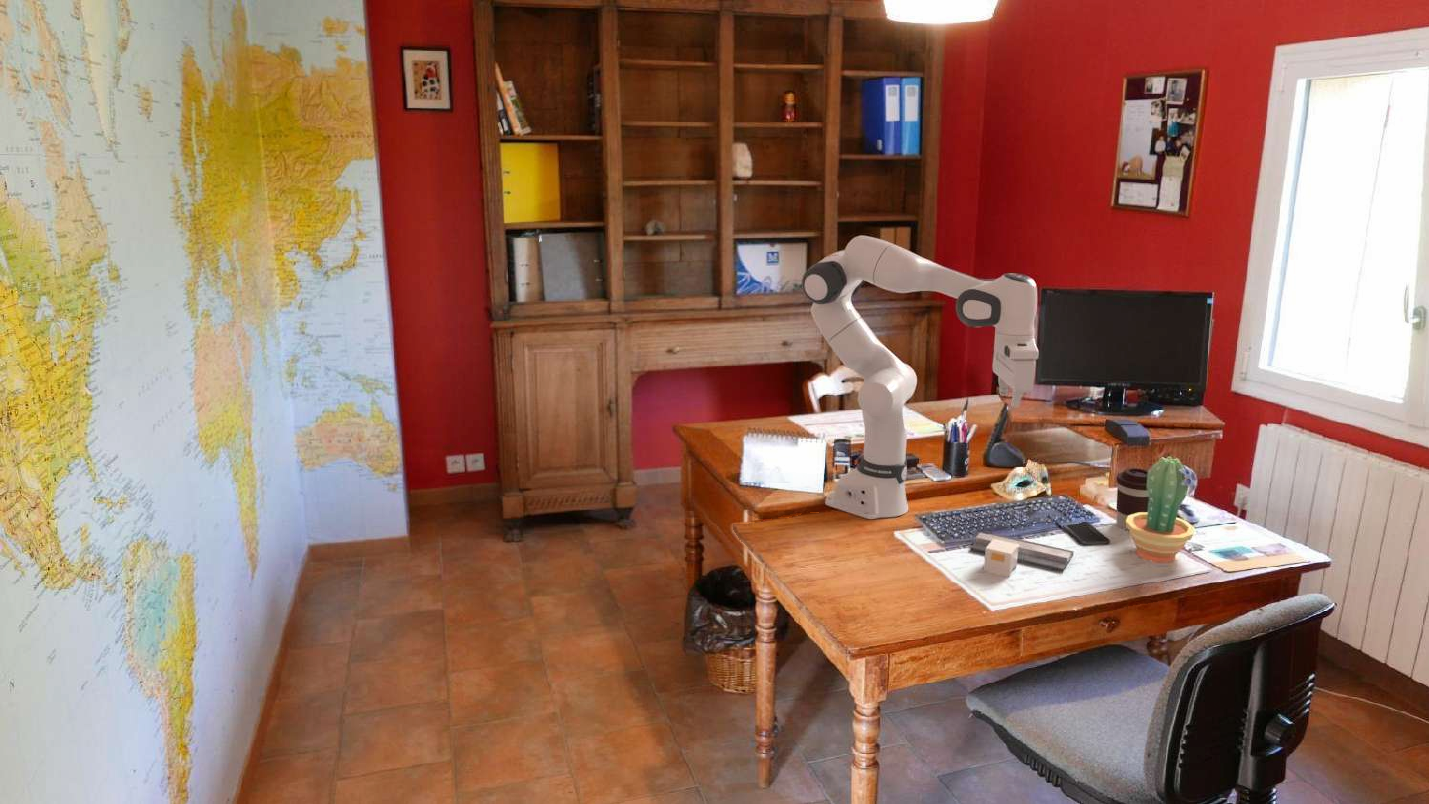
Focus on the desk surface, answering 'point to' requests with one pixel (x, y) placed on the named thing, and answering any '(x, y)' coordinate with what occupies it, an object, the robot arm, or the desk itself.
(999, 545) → the block
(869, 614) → the desk surface
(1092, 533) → the phone
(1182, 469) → the potted cactus
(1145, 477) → the coffee cup
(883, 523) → the desk surface
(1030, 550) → the rail
